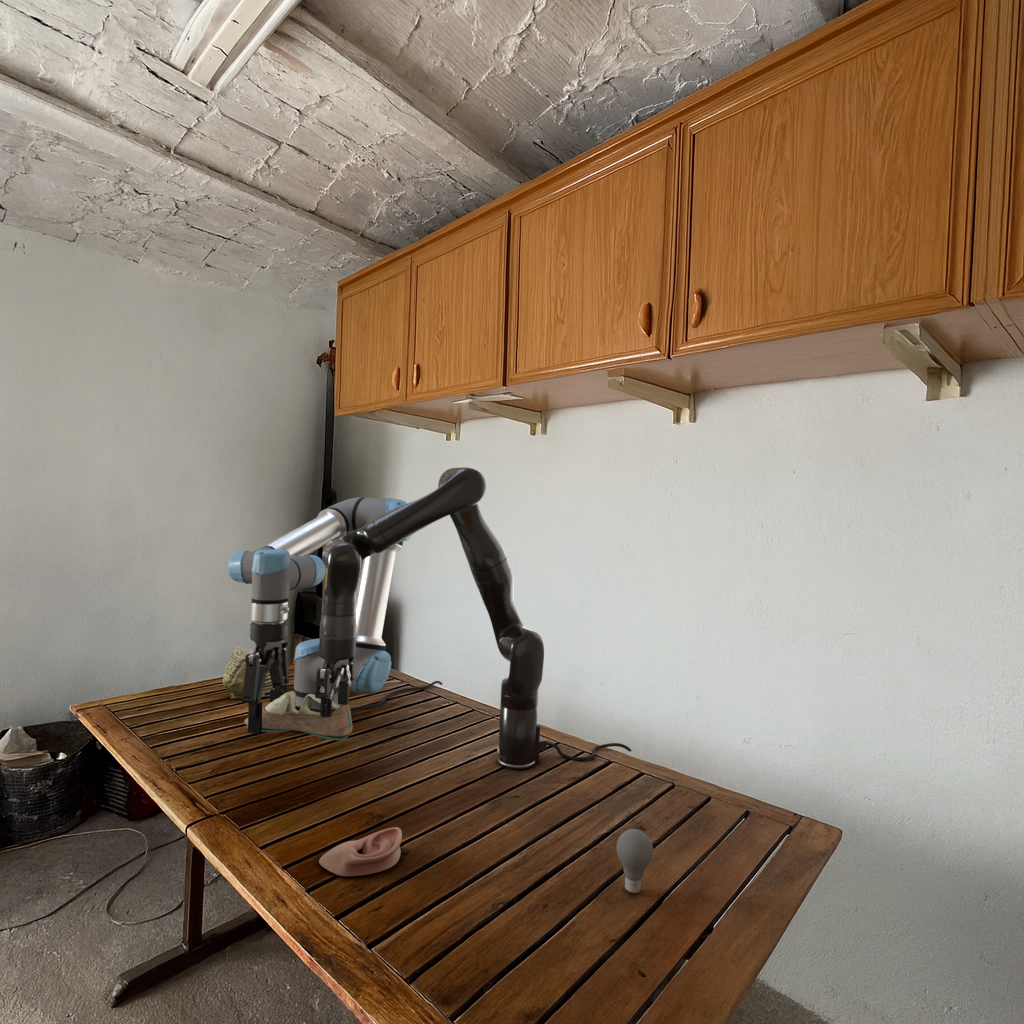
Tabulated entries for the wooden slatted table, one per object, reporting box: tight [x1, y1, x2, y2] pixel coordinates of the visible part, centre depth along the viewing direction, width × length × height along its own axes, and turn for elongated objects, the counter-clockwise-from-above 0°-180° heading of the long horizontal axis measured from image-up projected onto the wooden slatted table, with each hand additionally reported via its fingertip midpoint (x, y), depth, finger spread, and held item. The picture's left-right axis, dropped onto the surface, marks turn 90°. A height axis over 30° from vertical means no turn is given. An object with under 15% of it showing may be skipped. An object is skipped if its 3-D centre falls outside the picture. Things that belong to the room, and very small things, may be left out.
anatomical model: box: [318, 826, 403, 877], centre depth 111 cm, size 13×4×12 cm
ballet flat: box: [244, 690, 354, 741], centre depth 136 cm, size 8×25×8 cm, turn 81°
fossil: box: [222, 646, 287, 699], centre depth 198 cm, size 9×18×15 cm, turn 132°
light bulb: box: [615, 828, 654, 894], centre depth 106 cm, size 6×6×10 cm
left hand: (265, 725), depth 138 cm, fingers closed on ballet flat, 8 cm apart
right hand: (334, 710), depth 135 cm, fingers open, 8 cm apart
